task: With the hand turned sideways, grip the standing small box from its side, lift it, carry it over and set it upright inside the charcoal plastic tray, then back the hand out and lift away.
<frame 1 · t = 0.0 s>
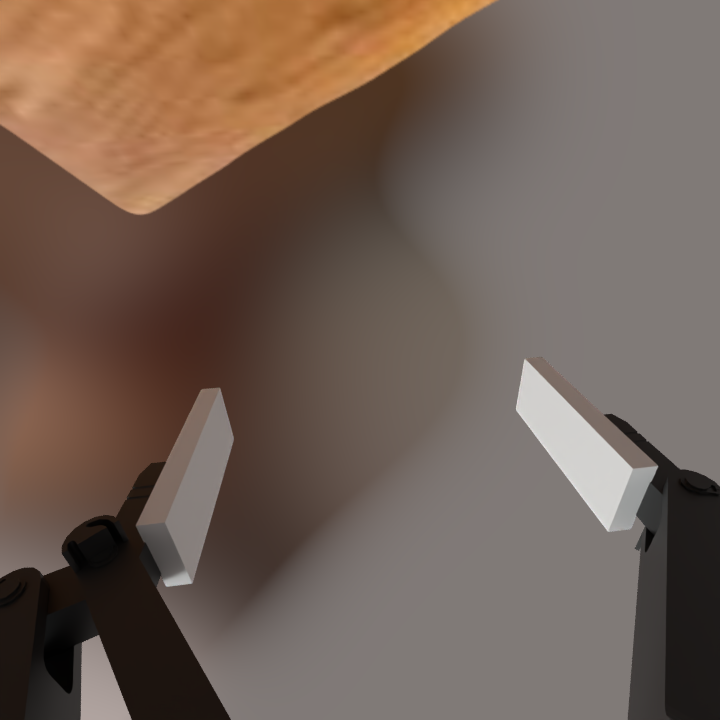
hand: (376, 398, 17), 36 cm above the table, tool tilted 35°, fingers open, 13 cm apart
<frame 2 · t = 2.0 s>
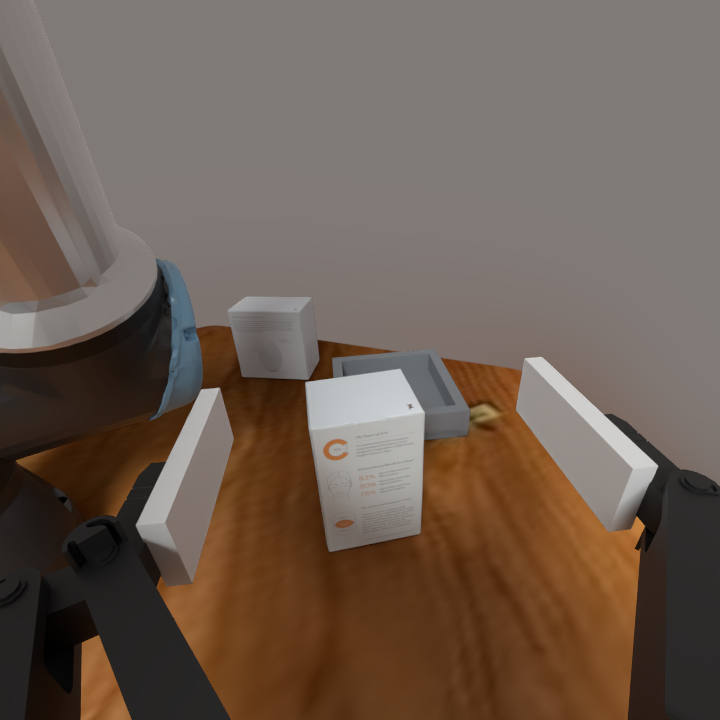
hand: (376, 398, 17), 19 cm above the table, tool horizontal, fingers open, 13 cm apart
tray: (393, 404, 49), on the table
skincare box: (282, 369, 59), on the table
small box: (368, 515, 35), on the table
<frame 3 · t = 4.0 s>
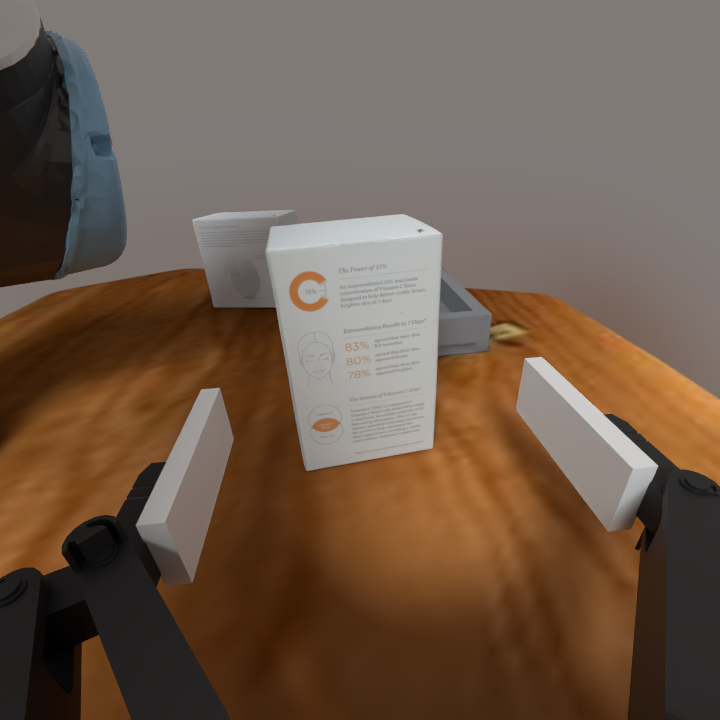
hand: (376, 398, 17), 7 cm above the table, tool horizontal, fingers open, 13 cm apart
tray: (393, 325, 40), on the table
skincare box: (261, 300, 50), on the table
small box: (361, 431, 26), on the table
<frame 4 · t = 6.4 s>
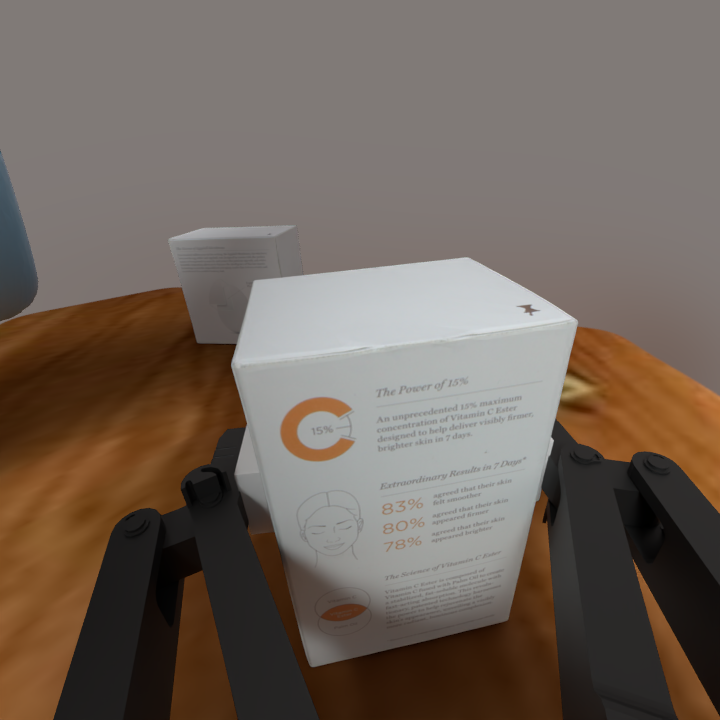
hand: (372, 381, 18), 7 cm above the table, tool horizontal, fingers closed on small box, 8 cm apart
skincare box: (255, 333, 41), on the table
small box: (392, 571, 17), on the table, touching gripper
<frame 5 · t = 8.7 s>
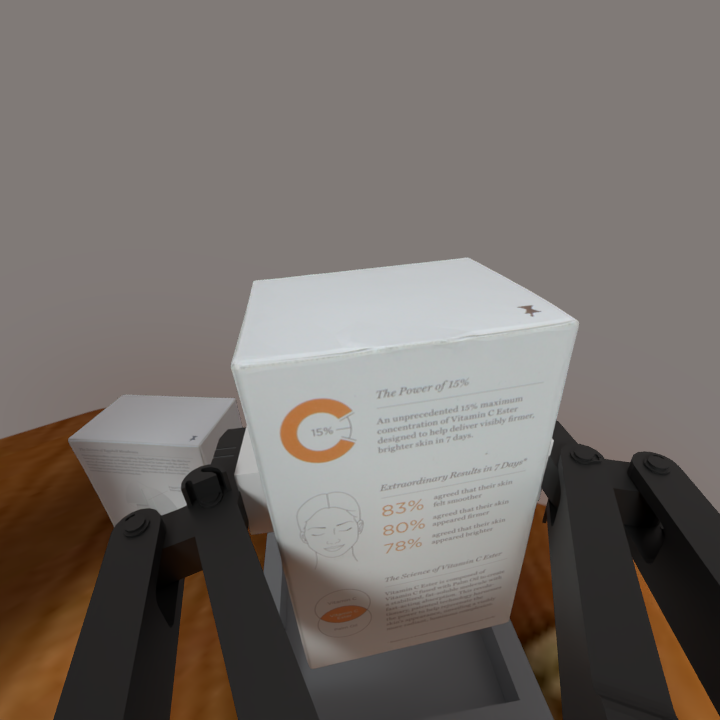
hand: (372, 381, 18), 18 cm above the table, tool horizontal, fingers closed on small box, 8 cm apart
tray: (380, 626, 25), on the table
skincare box: (192, 511, 35), on the table
small box: (392, 572, 17), point 11 cm above the table, touching gripper
when the fingers open (9 cm above the table, at t = 11.0 s): small box drops 1 cm, resting on tray.
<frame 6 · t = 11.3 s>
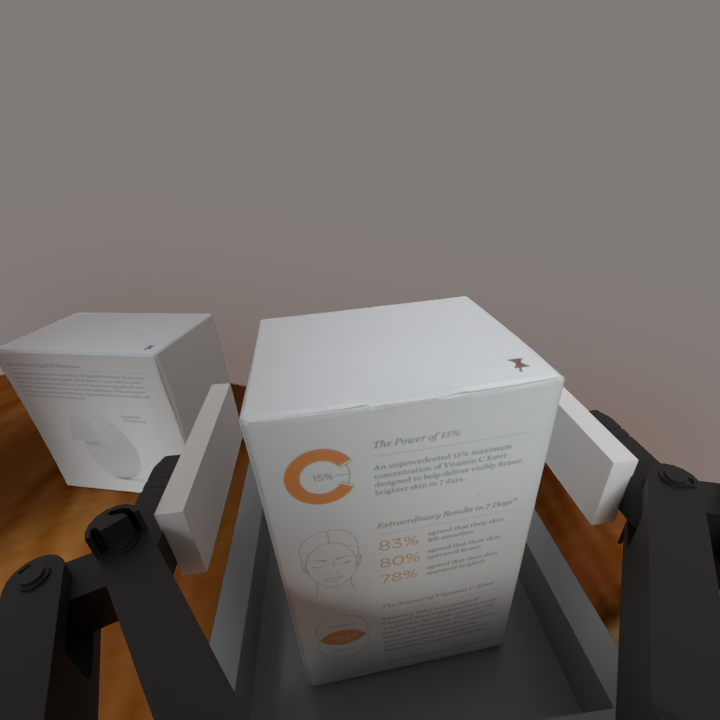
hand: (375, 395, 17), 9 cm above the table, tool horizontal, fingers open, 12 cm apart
tray: (392, 599, 19), on the table
skincare box: (162, 461, 28), on the table
small box: (391, 592, 18), point 1 cm above the table, touching tray
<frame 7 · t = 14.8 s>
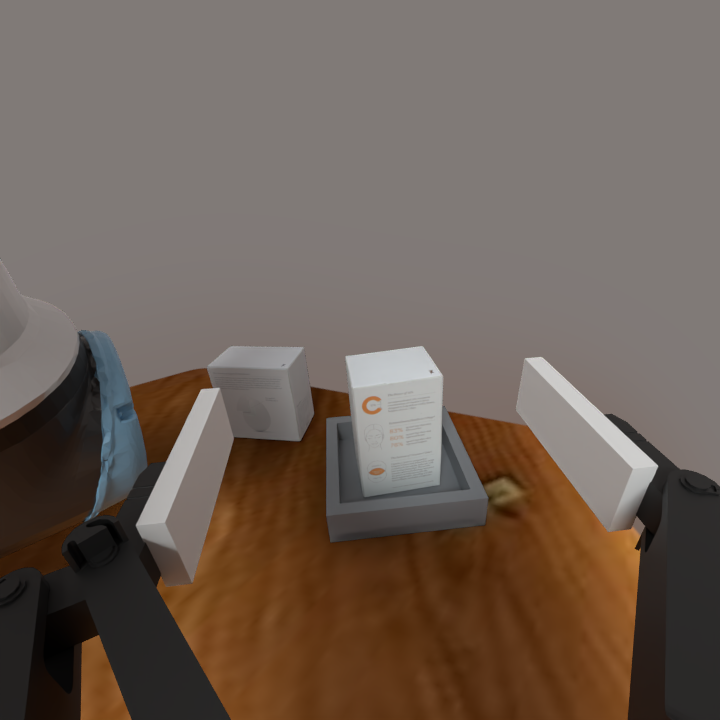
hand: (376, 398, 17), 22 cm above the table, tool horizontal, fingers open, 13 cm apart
tray: (396, 476, 42), on the table
skincare box: (272, 425, 52), on the table
small box: (395, 471, 42), point 1 cm above the table, touching tray
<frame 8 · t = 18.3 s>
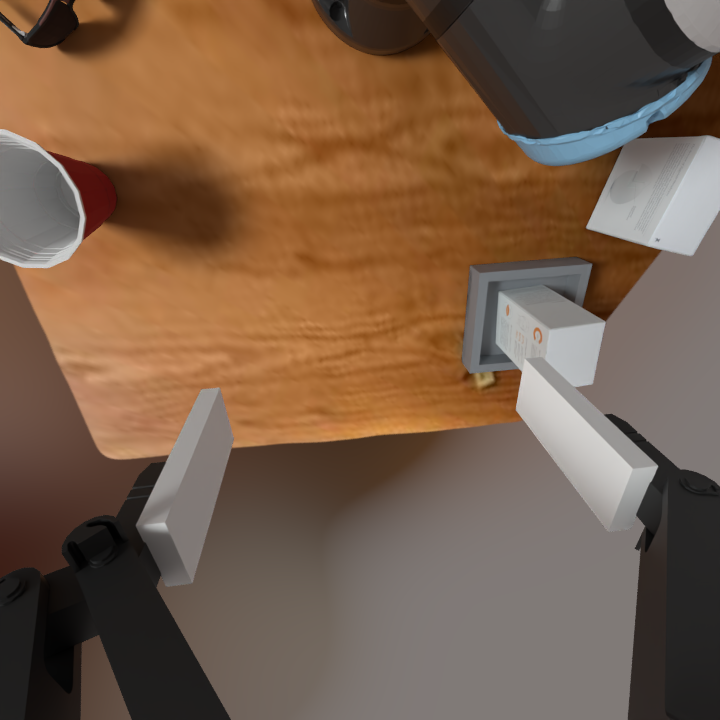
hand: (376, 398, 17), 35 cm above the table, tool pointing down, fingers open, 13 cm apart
tray: (515, 312, 54), on the table
skincare box: (625, 190, 48), on the table
small box: (517, 313, 54), point 1 cm above the table, touching tray
plastic cup: (88, 189, 42), on the table
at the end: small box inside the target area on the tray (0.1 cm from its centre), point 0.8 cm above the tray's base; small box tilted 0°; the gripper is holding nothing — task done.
